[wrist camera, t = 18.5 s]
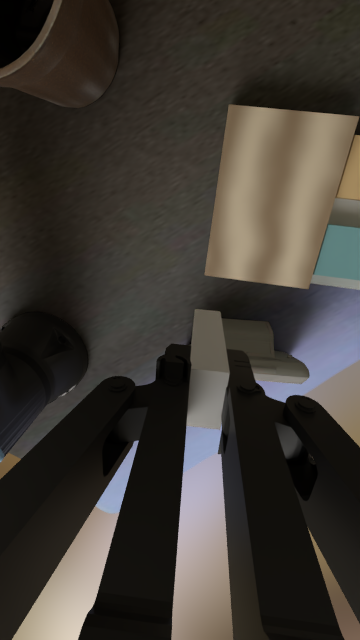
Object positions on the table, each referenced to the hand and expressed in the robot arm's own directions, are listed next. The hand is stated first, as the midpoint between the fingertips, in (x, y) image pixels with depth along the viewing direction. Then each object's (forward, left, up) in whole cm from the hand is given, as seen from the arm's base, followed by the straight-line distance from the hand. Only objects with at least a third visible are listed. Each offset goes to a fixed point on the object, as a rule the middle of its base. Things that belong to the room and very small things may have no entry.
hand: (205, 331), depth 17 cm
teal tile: (+17, +3, -24) cm, 30 cm away
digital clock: (+6, -13, -25) cm, 28 cm away
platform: (+6, +7, -24) cm, 26 cm away
